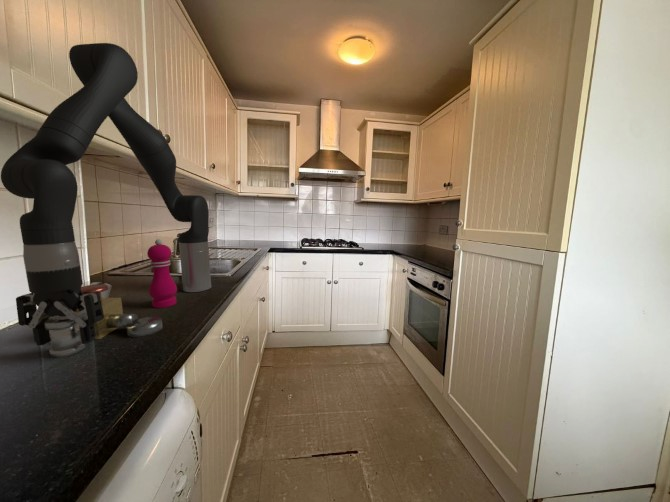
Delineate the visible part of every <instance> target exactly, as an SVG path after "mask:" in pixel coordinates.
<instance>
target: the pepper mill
mask: <svg viewBox="0 0 670 502" xmlns="http://www.w3.org/2000/svg"><path fill="white" fill-rule="evenodd" d="M154 243H155V244H153V245H152V246H150V247H149V248H148V249H147V257H148V259H150V260H151V261H150V262H149V263H150V268H151V267H152V272H153V277H152V280H151V282H150V285H149V288H148V294H149V297H151V298H152V300H151V304H152V308H154V309H155V308H156V309H163V308H168V307H172V306H174V305H176V304H177V296H175V295H176V294H177V292H178V287H177V285H176V282H175V281H174V279H173V278H172V276H171V273H170V265H171V260H170V258H171V256H172V250H171V248H170V247H169V246H168V245H165V244H163V241H162V239H160V238H158V239H156V240H155V241H154Z"/></svg>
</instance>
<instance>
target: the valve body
mask: <svg viewBox="0 0 670 502" xmlns="http://www.w3.org/2000/svg"><path fill="white" fill-rule="evenodd" d="M106 290H108V285H106V284H105V283H102V284H96V285H90V284H88V285H84V286H83V285H82V286H81V291H82V293H83V294H91V293H94V292H98V293H99V294H100V299H101V304H102V309H103V313H104V318H103V319H102V320H100V321H98V322H96V323H94V327H95V334H96V336H95V338H94V340H101V339H103V338H104V337H106V336H107V335H109V334H110V333H112V332H114V331H115V330H117V329H126V335H127V336H128V337H131V338H140V337H147V336H151V335H154V334H156V333H157V332H160V331H161V330H162V329H163V321H162V318H161V317H160V316H146V317H141V318H139V317H138V315H137V314H136V313H123V312H124V310H123V309H124V308H123V303H122V297H109V298H102V296H101V292H104V291H106ZM82 303H83V302H82ZM77 312H80V311H79V310H78V309H77V311H76V313H77ZM95 315H96V314H95ZM81 317H82V316H81ZM82 318H84V317H82ZM84 319H85V318H84ZM85 320H86V319H85ZM80 327H81V326H80V325H79V328H80Z"/></svg>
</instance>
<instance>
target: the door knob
mask: <svg viewBox="0 0 670 502" xmlns="http://www.w3.org/2000/svg"><path fill="white" fill-rule="evenodd" d="M44 324H45V329H46V330H49V335H50V345H51V347H50V348H49V350H48V351H49V352H48V353H49V357H50V358H53V359H58V358H59V359H60V358H65V357H70V356H72V355H75V354H77V353H79V352H82V351H83V350H85V348H86V344H82V341H81V334H80V328H79V324H78V323H77V322H76V321H74V320H70V319H69V318H68V317H67V316H54V317H52V318H51V317H50V318H49V320H47V321H45V322H44Z"/></svg>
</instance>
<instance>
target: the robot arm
mask: <svg viewBox="0 0 670 502" xmlns="http://www.w3.org/2000/svg"><path fill="white" fill-rule="evenodd" d="M68 58H69V62H70V65H71V67H72V70H73V71H74V74H75V75H76V77H77V78H78V80H79V81H80V82H81V84H82V85H83V87H81V88H80V89H79V90H78V91H76V92H75V93H73V94H72V95H70V96H69V97H67V98H66V99H65V100H63V101H62V102H60V103H59V104H58V105H57V106H55V107H54V109H53V110H52V111H51V112H50V113H49V114H48V116H47V117H46V118H45V120H44V122H43V123H42V125H41V127H40V128H39V129H38V131H37V133H36V134H35V136H34V137H33V138H31V139H30V140H28V141H27V142H26V143H24V144H23V145H22V146H21V147H20V148H19V149H17V151H15V152H14V153H13V154H12V155H11V156H9V158H8V159H7V160H6V161H5V162H4V164H3V166H2V168H1V171H0V181H1V183H2V185H3V188H4V189H6V191H8V193H10V194H13V195H14V196H16V197H19V198H23V199H32V200H33V204H32V205H33V206H32V210H31V211H29V212H26V213H23V214H22V215H21V216H20V218H19V229H20V233H21V234H20V235H21V239H22V244H23V245H22V247H23V249H22V250H23V251H22V253H23V254H22V257H23V264H24V269H25V274H26V280H27V284H28V285H27V286H28V290H29V293H25V294H22V295H20V296H17V297H15V303H16V311H17V313H16V314H17V321H18V325H20V326H22V327H23V326H28V327H29V328H30V329H32V334H33V339H34V342H35V343H36V345H37V346H44V345H46V344H48V343H51V341H50V335H49V330H46V329H45V324H44V322H45V321H47V320H49V319H51V317H52V318H54V317H58V316H67V317H68V318H69V319H70V320H74V321H76V322H77V323H78V324H79V325H80V326H81V327H80V334H81V341H82V344H85V345H88V344H89V343H91V342H93V341H94V340H95V339H94V338H95V336H96V334H95V327H94V323H96V322H98V321H100V320H102V319H103V318H104V313H103V309H102V304H101V299H100V294H99V293H98V292H94V293H91V294H83V293H82V291H81V287H83V284H84V283H83V275H82V269H81V261H80V254H79V249H78V248H77V244H76V239H75V230H74V225H73V218H74V214H75V208H76V202H77V198H78V189H79V187H78V186H79V185H78V181H77V179H76V177H75V174H74V173H73V171H72V170H71V169H70V167H68V165H70V164H74V163H77V162H79V161H80V160H81V159H82V158H83V157H84V155H85V153H86V152H87V149H88V148H89V146H90V144H91V143H92V141H93V139H94V136H95V135H96V134H97V132H98V130H99V129H100V128H101V126H102V125H103V123H104V122H105V120H106V119H107V118H109V119H110V121H111V122H112V123H113V124H114V126H115V128H116V129H117V131H118V132H119V133H120V135H121V136H122V138H123V139H124V141H125V142H126V144H127V145H128V147H129V148H130V150H131V151H132V154H133V155H134V156H135V158H136V159H137V161H138V162H139V164H140V165H141V166H142V168H143V169H144V170H145V171H146V173H147V175H148V176H149V178H150V180H151V181H152V182H153V184H154V186H155V187H156V189H157V191H158V193H159V194H160V196H161V198H162V200H163V202H164V204H165V206H166V208H167V210H168V211H169V213H170V215H171V216H172V217H173V219H174V220H175V221H178V222H181V223H190V228H189V229H187V230H186V231H183V232H181V233H179V234H178V236H177V237H178V249H179V258H180V259H179V261H180V271H181V282H182V291H183V292H185V293H197V292H199V293H200V292H203V291H207V290H210V289H211V288H212V278H211V277H212V275H211V268H210V267H211V264H210V263H211V262H210V250H209V233H210V220H209V218H210V217H209V216H210V214H209V212H210V211H209V204H208V202H207V199H206V198H205V197H204V196H202V195H199V194H198V195H195V194H193V195H192V194H189V195H188V194H186V195H185V194H184V195H183V194H182V192H181V191H180V190H179V188H178V186H177V184H176V181H175V180H176V171H177V159H176V156H175V154H174V151H173V150H172V149H171V146H170V145H169V143H168V140H166V138H165V136H164V135H163V134H162V133H161V132H160V131H159V130H158V129H157V128H156V127H155V126H154V125H152V124H151V123H150V122H149V121H147V120H146V119H145V118H143V117H142V116H141V115H140V114H139V113H138V112H137V111H136V110H135V109H133V107H132V106H131V105H130V104H129V102H128V101H127V99H126V97H127V95H128V94H129V93H130V92H131V91H132V90H133V89H134V88H135V86H136V84H137V83H138V79H139V78H138V77H139V74H138V69H137V68H138V67H137V65H136V63H135V61H134V59H133V57H132V56H131V55H130V54H129V52H128V51H127V50H126V49H124V48H123V47H122V46H120V45H118V44H114V43H109V42H96V43H94V42H93V43H81V44H80V43H79V44H75V45H73V46H72V47H70V49H69V52H68ZM82 301H83V303H82ZM77 309H78V310H79V311H80V312H77V313H76V311H77ZM95 314H96V315H95ZM81 316H82V317H84V318H85V319H86V320H85V319H84V318H82V317H81Z"/></svg>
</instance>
